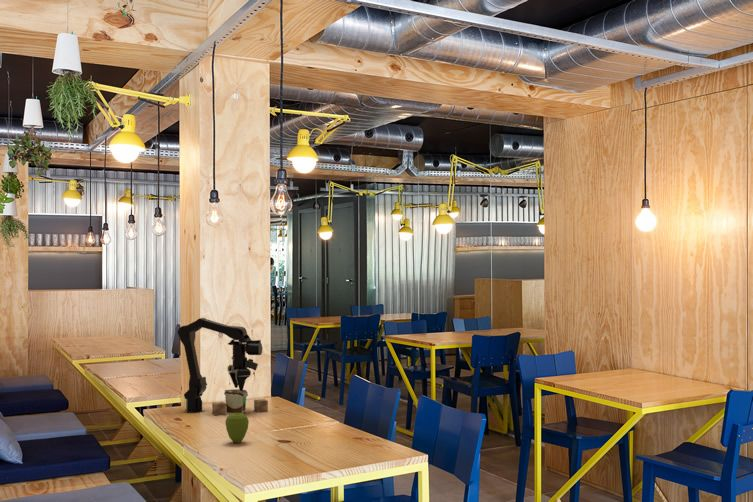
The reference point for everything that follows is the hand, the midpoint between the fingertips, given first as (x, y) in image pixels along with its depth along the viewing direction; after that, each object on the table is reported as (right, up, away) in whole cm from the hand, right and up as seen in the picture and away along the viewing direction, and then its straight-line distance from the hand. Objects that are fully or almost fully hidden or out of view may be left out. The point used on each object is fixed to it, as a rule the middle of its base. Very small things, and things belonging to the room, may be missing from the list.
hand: (238, 389), depth 325 cm
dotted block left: (-8, -11, -4) cm, 14 cm away
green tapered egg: (+10, -9, -57) cm, 59 cm away
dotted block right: (+10, -11, +3) cm, 15 cm away
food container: (0, -11, 0) cm, 11 cm away
